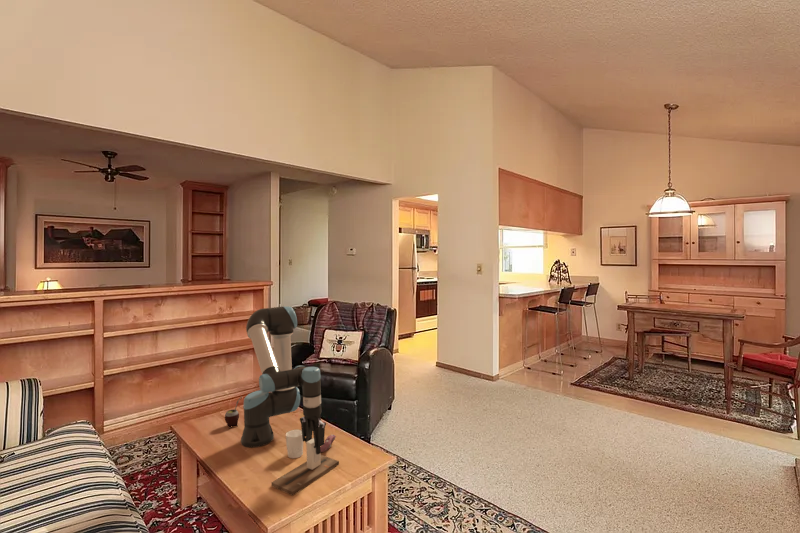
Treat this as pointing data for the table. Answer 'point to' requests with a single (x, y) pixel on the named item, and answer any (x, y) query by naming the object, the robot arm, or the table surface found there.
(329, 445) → the video game controller
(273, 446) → the table surface
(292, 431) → the white cup
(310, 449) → the fader knob
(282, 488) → the board
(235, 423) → the mate gourd
